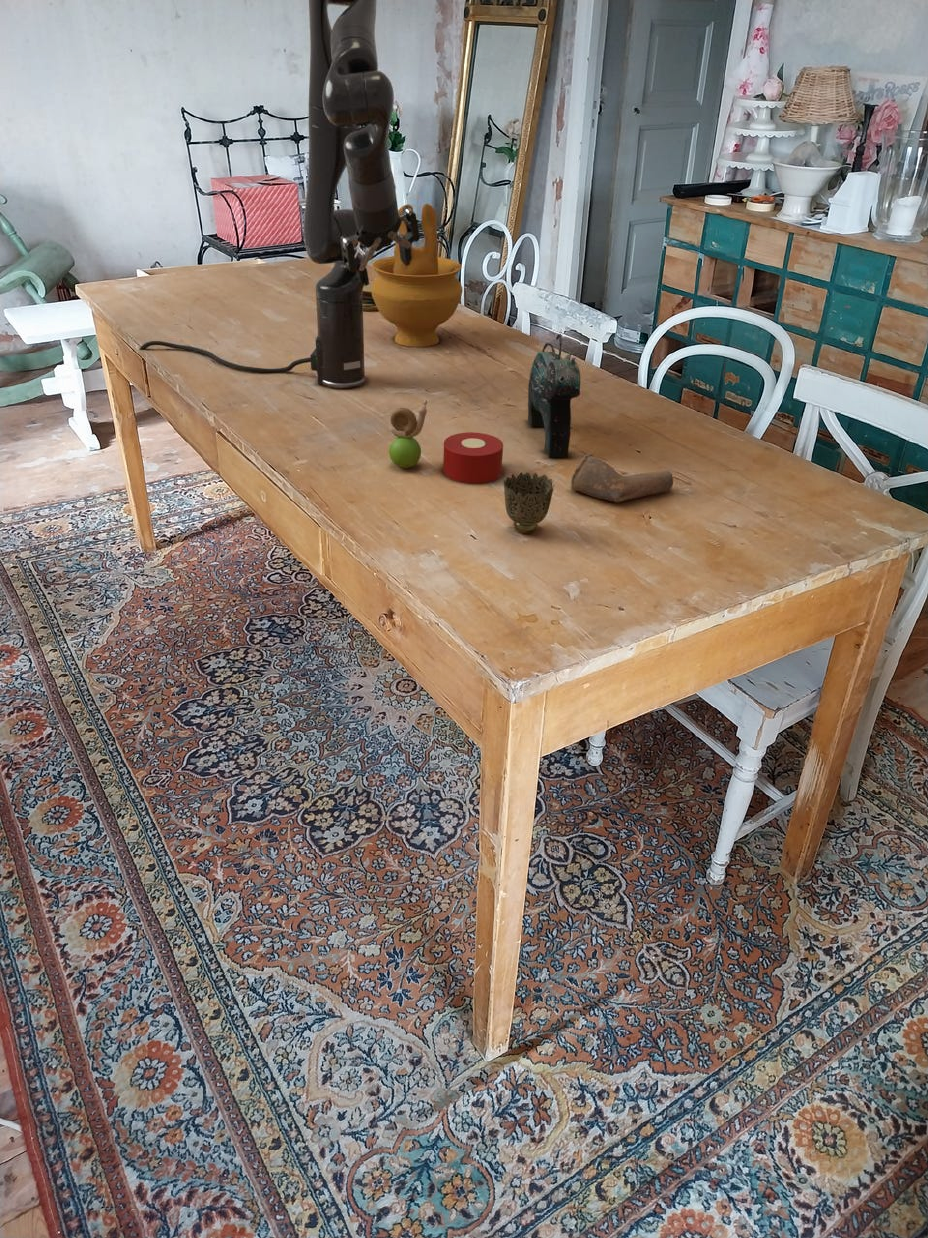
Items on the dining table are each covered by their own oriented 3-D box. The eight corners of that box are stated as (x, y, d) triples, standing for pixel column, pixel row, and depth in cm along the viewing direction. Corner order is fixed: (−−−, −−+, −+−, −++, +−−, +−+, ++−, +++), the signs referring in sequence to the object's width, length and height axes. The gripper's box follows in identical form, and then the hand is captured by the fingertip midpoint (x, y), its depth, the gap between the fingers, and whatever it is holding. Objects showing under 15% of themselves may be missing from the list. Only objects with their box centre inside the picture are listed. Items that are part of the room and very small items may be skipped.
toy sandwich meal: (336, 307, 242) (335, 289, 239) (358, 295, 252) (358, 277, 250) (380, 314, 238) (380, 294, 236) (401, 301, 249) (401, 283, 246)
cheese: (439, 481, 156) (440, 452, 153) (446, 457, 164) (447, 429, 161) (499, 485, 155) (501, 456, 152) (503, 461, 164) (505, 433, 161)
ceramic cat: (576, 461, 165) (587, 348, 154) (540, 462, 164) (549, 349, 153) (549, 419, 181) (558, 314, 170) (516, 420, 180) (523, 315, 169)
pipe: (685, 468, 152) (648, 437, 158) (602, 486, 144) (567, 453, 151) (674, 501, 156) (639, 469, 162) (594, 520, 149) (560, 486, 155)
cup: (498, 518, 145) (501, 471, 141) (545, 518, 146) (549, 470, 141) (504, 541, 139) (507, 492, 135) (553, 541, 140) (557, 492, 135)
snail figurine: (422, 475, 158) (423, 406, 151) (385, 470, 159) (384, 402, 152) (429, 462, 162) (430, 395, 156) (393, 458, 163) (393, 391, 156)
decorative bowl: (445, 324, 232) (448, 193, 216) (473, 350, 216) (478, 210, 199) (362, 329, 226) (359, 195, 210) (384, 356, 210) (382, 213, 193)
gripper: (398, 165, 157) (408, 244, 172) (324, 199, 154) (340, 277, 169) (421, 189, 154) (429, 268, 168) (347, 224, 151) (361, 301, 165)
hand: (385, 272), depth 168 cm, fingers open, 8 cm apart
